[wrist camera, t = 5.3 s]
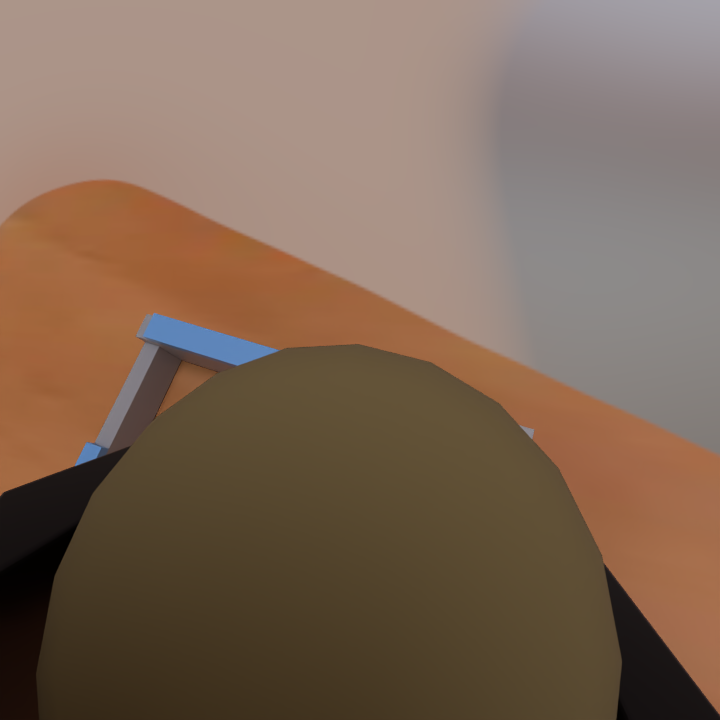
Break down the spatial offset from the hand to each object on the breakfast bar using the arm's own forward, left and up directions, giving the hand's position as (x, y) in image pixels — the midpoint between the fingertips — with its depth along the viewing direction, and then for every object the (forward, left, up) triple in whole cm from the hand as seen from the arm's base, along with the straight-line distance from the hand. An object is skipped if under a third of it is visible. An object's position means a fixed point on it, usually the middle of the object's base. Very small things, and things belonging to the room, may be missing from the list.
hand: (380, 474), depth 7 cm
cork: (-1, -1, -7) cm, 7 cm away
